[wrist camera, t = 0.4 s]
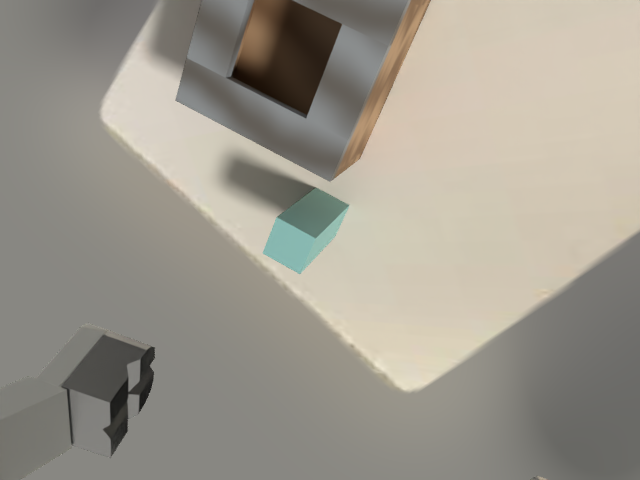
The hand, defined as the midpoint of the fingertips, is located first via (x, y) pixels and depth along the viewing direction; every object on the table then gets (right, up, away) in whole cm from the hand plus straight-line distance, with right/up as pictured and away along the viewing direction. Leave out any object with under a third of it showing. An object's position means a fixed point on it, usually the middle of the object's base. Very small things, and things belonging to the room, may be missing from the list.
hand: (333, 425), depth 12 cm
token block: (0, +7, +48) cm, 48 cm away
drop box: (0, +22, +42) cm, 48 cm away
